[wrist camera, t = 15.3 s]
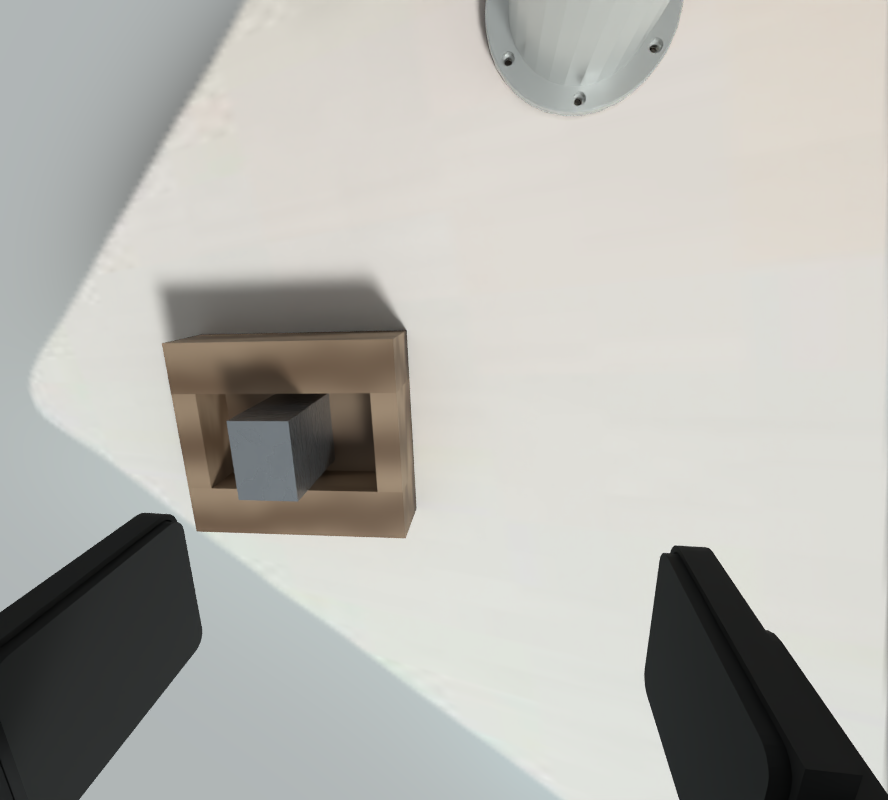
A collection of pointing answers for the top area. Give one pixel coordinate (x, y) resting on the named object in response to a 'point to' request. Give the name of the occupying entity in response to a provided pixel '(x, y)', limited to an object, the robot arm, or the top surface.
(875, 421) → the top surface
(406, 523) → the walnut well
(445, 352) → the top surface
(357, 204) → the top surface
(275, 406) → the tall blue-grey block
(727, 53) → the top surface
